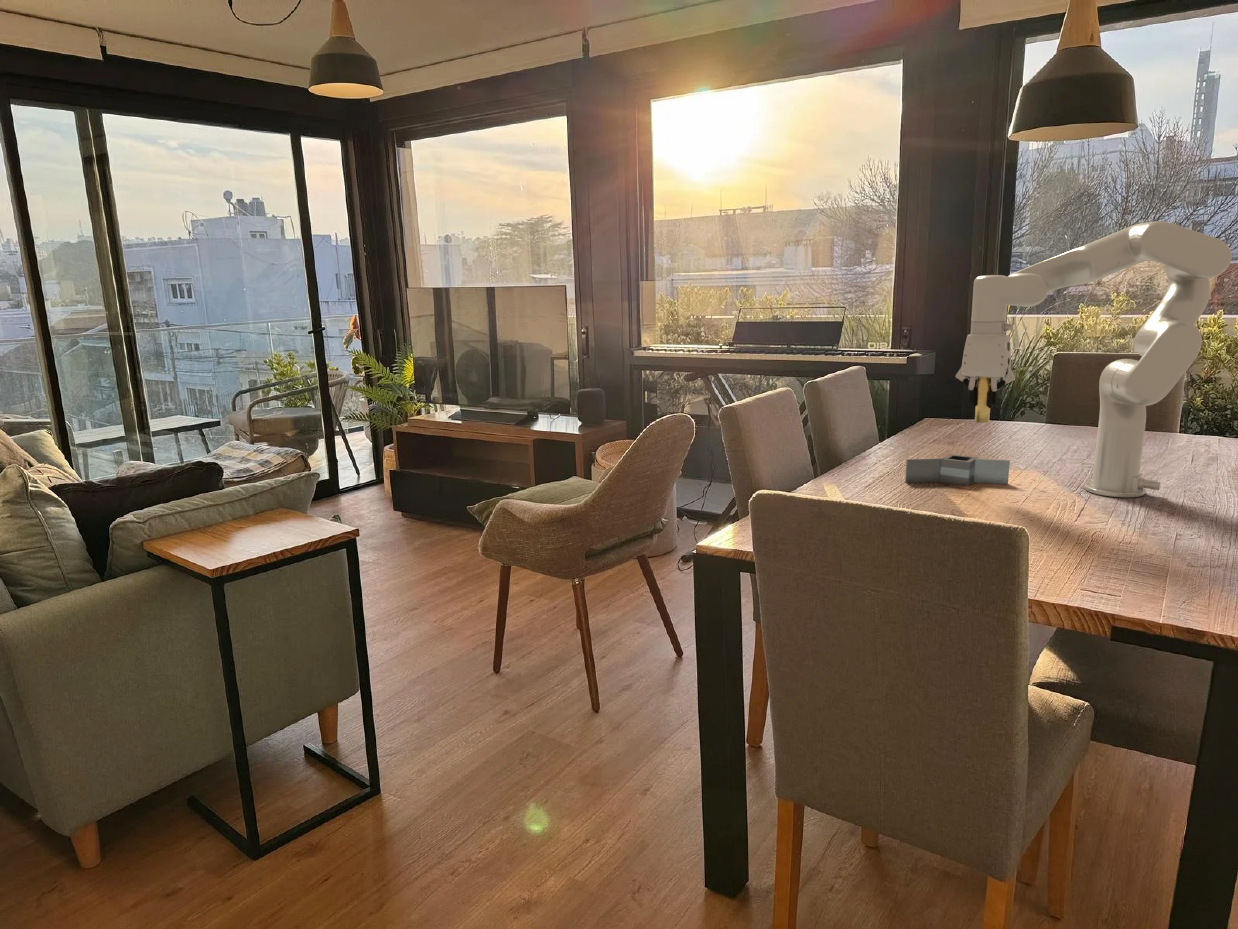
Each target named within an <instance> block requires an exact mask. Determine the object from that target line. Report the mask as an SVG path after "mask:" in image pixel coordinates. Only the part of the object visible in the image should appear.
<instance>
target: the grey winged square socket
mask: <svg viewBox="0 0 1238 929" xmlns="http://www.w3.org/2000/svg"><path fill="white" fill-rule="evenodd" d="M905 460H906V462H905V475H904V476H905V478H904V479H905V480H904V481H905V482H904V483H905V484H913V483H915V484H916V483H943V484H950V485H951V484H953V485H959V486H964V487H965V486H966V487H969V486H971V485H972V484H973V483H979V484H981V483H982V484H996V485H997V484H998V485H1008V484H1009V477H1010V476H1009V474H1010V462H1011V460H1010V459H1009V460H1007V459H993V458H991V459H989V458H979V457H978V456H972V455H971V456H970V455H961V454H951V453H950V454H949V455H946V456H944V457H942V458H940V457H939V458H907V459H905Z"/></svg>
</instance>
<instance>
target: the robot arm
mask: <svg viewBox="0 0 1238 929" xmlns="http://www.w3.org/2000/svg"><path fill="white" fill-rule="evenodd" d="M1232 258H1233V257H1232V252H1231V248H1230V246H1228V244H1227V243H1226V242H1225V241H1223V240H1222V239H1219V238H1217V237H1215V236H1213V235H1209V234H1204V233H1202V232H1199V231H1195V230H1193V229H1190V228H1187V227H1184V226H1181V225H1178V224H1175V223H1172V222H1170V221H1169V222H1168V221H1163V220H1161V221H1160V220H1155V221H1149V222H1148V221H1147V222H1140V223H1136V224H1133V225H1130V226H1128V227H1125V228H1123V229H1121V230H1118V231H1116V232H1113V233H1111V234H1109V235H1106V236H1104V237H1102V238H1099V239H1096V240H1094V241H1092V242H1089V243H1087V244H1084V245H1081V246H1080V247H1079V246H1078V247H1076V248H1074V249H1071V250H1068V251H1066V252H1064V253H1061V254H1059V255H1057V256H1052V257H1051V258H1048V259H1045V260H1043V261H1042V260H1041V261H1039V262H1037V263H1034V264H1032V265H1030V266H1028V267H1025V268H1023V269H1020V270H1018V271H1015V272H1014V273H1011V274H1009V275H1008V276H1006V275H1002V274H997V275H996V274H990V275H989V274H988V275H987V274H985V275H979V276H977V277H976V278H975V279H974V280H973V287H972V290H973V291H972V304H971V305H972V306H971V319H970V320H971V322H970V333H969V334H967V335H966V339H965V342H964V343H965V344H964V348H963V355H962V359H961V360H962V362H961V366H960V368H959V370H958V371H957V372H956V374H955V378H956V379H958V380H959V381H960V382H963V383H964V384H965V385H966V387H967V388H968V390H969V403H970V404H971V405H970V406H971V407H972V408H974V407H975V408H976V394H977V379H978V377H980V378H981V377H984V378H991V391H990V392H989V399H988V407H989V408H990V409H993V408H995V405H997V404H998V396H999V395H998V394H999V390H1000V389H1002V388H1003V387H1004V386H1005V385H1007V384H1009V383H1011V382H1014V381H1015V380H1016V376H1015V374H1014V372H1013V371H1012V368H1011V366H1012V365H1011V364H1012V360H1011V358H1012V357H1011V356H1012V350H1011V340H1010V338H1011V337H1010V334H1006V333H1007V332H1008V331H1012V330H1013V327H1014V326H1013V324H1010V323H1008V321H1007V315H1008V306H1016V307H1023V308H1024V307H1025V308H1028V307H1029V308H1030V307H1035V306H1037V305H1039V304H1041V303H1043V301H1045V299H1047V297H1048V295H1049V294H1048V293H1049V292H1050V293H1051V292H1053V291H1056V290H1060V289H1064V288H1066V287H1067V288H1069V287H1072V286H1080V285H1087V284H1089V283H1093V282H1096V281H1099V280H1101V279H1103V278H1106V277H1108V276H1111V275H1113V274H1116V273H1118V272H1120V271H1122V270H1123V271H1124V270H1126V269H1129V268H1131V267H1133V266H1136V265H1138V264H1141V263H1144V262H1155V263H1159V264H1161V265H1163V267H1164V270H1165V274H1166V277H1167V289H1166V293H1165V294H1164V296H1163V298H1162V299H1161V301H1160V302H1159V304H1158V305H1157V307H1156V308H1155V309H1154V310H1153V312H1152V313H1151V315H1150V316H1149V317H1148V318H1147V320H1146V321H1145V322H1144V323H1143V325H1142V326H1141V327H1140V329H1139V330H1138V331H1137V333H1136V335H1135V336H1134V338H1133V339H1134V340H1133V347H1134V350H1135V352H1136V353H1137V354H1138V355H1139V356H1141V357H1140V359H1139V360H1138V359H1132V358H1122V359H1116V360H1115V361H1112V362H1110V363H1108V365H1106V366H1105V368H1103V370H1102V371H1101V374H1100V377H1099V382H1098V384H1099V385H1098V388H1099V389H1098V391H1099V417H1098V427H1097V435H1096V443H1095V444H1096V445H1095V453H1094V464H1093V473H1092V480H1091V481H1087V482H1085V483H1084V487H1083V488H1084V490H1085V491H1087V492H1089V493H1092V494H1095V495H1100V496H1106V497H1112V498H1137V497H1138V498H1140V497H1143V496H1144V495H1145V494H1146V489H1150V490H1155V491H1160V490H1161V486H1162V485H1161V481H1157V480H1154V479H1146V478H1144V477H1143V473H1142V472H1141V463H1142V454H1143V446H1144V438H1145V431H1146V425H1147V424H1146V423H1147V406H1152V405H1155V404H1157V403H1159V402H1160V401H1162V400H1163V399H1164V398H1165V397H1166V396H1167V395H1169V393H1170V392H1171V391H1172V390H1173V388H1174V387H1175V386H1176V384H1177V383H1178V382H1179V381H1180V379H1181V378H1182V377H1183V375H1184V374H1185V373H1186V372H1187V371H1188V369H1189V368H1190V367H1191V365H1192V364H1193V363H1194V362H1195V361H1196V359H1197V357H1198V355H1199V353H1200V351H1201V348H1202V344H1203V338H1202V334H1201V331H1200V330H1199V329H1198V327H1197V326H1196V323H1197V321H1198V320H1199V319H1200V318H1201V316H1202V315H1203V313H1204V311H1205V310H1206V308H1207V306H1208V304H1209V301H1210V298H1211V295H1210V294H1211V284H1210V279H1213V278H1216V277H1218V276H1220V275H1222V274H1223V273H1224V272H1225V271H1226V270H1227V269H1228V268H1229V266H1230V264H1231V263H1232ZM1004 377H1005V378H1004ZM1001 378H1002V379H1001Z"/></svg>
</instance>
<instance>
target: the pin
mask: <svg viewBox="0 0 1238 929" xmlns="http://www.w3.org/2000/svg"><path fill="white" fill-rule="evenodd" d="M990 391H991V378H984V377H981V378H980V377H978V379H977V394H976V406H975V410H974V411H975V412H974V413H975V414H974V422H975V423H980V424H981V423H982V424H985V423H986V424H987V423H990V417H991V415H990V414H991V408H989V407H988V399H989V392H990Z"/></svg>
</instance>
